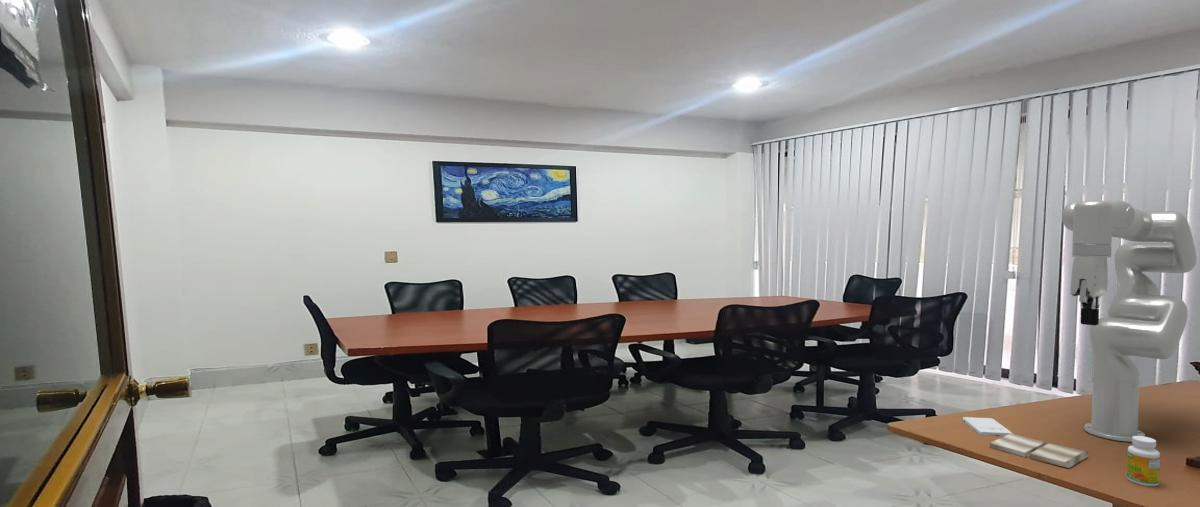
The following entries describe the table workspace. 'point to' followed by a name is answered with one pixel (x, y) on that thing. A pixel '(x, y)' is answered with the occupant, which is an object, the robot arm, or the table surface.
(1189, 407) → the table surface
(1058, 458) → the plank
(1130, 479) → the supplement bottle
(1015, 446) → the laid board
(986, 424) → the external hard drive
